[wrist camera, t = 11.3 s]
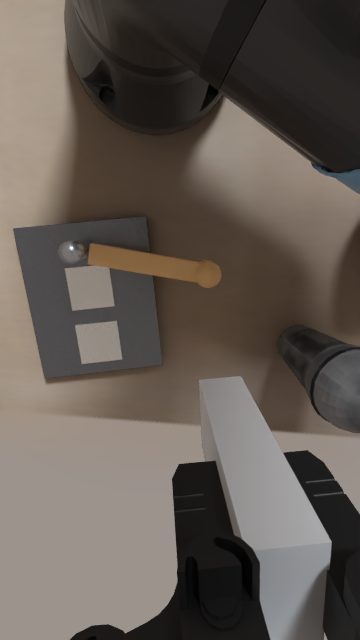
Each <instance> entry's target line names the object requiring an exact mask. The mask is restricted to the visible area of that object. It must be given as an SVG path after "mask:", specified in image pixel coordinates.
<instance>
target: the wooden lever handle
mask: <svg viewBox="0 0 360 640" xmlns="http://www.w3.org/2000/svg"><path fill="white" fill-rule="evenodd" d="M88 264H89V265H95V266H101V267H107V268H113V269H119V270H125V271H131V272H137V273H142V274H148V275H154V276H160V277H166V278H172V279H178V280H184V281H190V282H196V283H198V284H199V285H200V286H202V287H204V288H212V287H214V286H216V285H217V284H218V283H219V282H220V280H221V276H222V273H221V269H220V267H219V266H218V265H217V264H216V263H214V262H212V261H210V260H201V261H199V262H198V261H192V260H187V259H181V258H175V257H170V256H164V255H158V254H153V253H147V252H141V251H136V250H130V249H124V248H119V247H113V246H108V245H102V244H96V243H90V248H89V257H88Z"/></svg>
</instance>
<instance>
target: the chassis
mask: <svg viewBox="0 0 360 640" xmlns="http://www.w3.org/2000/svg"><path fill="white" fill-rule="evenodd" d="M13 231H14V235H15V240H16V245H17V249H18V254H19V259H20V263H21V268H22V273H23V278H24V282H25V287H26V292H27V296H28V301H29V306H30V311H31V315H32V320H33V325H34V329H35V334H36V339H37V344H38V348H39V353H40V358H41V362H42V367H43V372H44V376H45V378H54V377H62V376H71V375H80V374H88V373H97V372H105V371H114V370H123V369H131V368H140V367H148V366H157V365H163V363H162V354H161V345H160V336H159V327H158V318H157V309H156V300H155V291H154V282H153V275H148V274H142V273H137V272H131V271H125V270H119V269H113V268H107V267H101V266H95V265H89V264H88V257H89V248H90V243H96V244H102V245H108V246H113V247H119V248H124V249H130V250H136V251H141V252H147V253H150V247H149V238H148V229H147V220H146V216H143V217H133V218H122V219H111V220H100V221H89V222H79V223H68V224H57V225H46V226H35V227H24V228H14V229H13Z"/></svg>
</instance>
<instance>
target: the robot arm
mask: <svg viewBox="0 0 360 640" xmlns="http://www.w3.org/2000/svg"><path fill="white" fill-rule="evenodd" d="M64 22H65V33H66V40H67V46H68V50H69V54H70V57H71V60H72V63H73V65H74V68H75V70H76V72H77V74H78V77H79V79H80V81H81V83H82V85H83V87H84V88H85V90H86V92H87V93H88V95H89V96H90V98H91V99H92V100H93V102H94V103H95V104H96V105H97V106H98V107H99V109H100V110H101V111H102V112H104V113H105V114H106V115H107V116H108V117H109V118H111V119H112V120H114V121H115V122H117V123H118V124H120V125H122V126H124V127H126V128H128V129H130V130H133V131H136V132H140V133H144V134H152V135H163V134H170V133H175V132H178V131H181V130H184V129H186V128H188V127H190V126H192V125H194V124H195V123H197V122H198V121H200V120H201V119H202V118H203V117H205V116H206V115H207V114H208V113H209V112H210V111H211V110H212V109H213V107H214V106H215V105H216V104H217V102H218V101H219V99H220V98H221V96H222V95H223V96H225V97H226V98H227V99H229V100H230V101H231V102H233V103H234V104H235V105H237V106H238V107H239V108H241V109H242V110H243V111H245V112H246V113H247V114H248V115H250V116H251V117H252V118H254V119H255V120H256V121H258V122H259V123H260V124H262V125H263V126H264V127H266V128H267V129H268V130H269V131H271V132H272V133H273V134H275V135H276V136H277V137H279V138H280V139H281V140H283V141H284V142H285V143H287V144H288V145H289V146H291V147H292V148H293V149H294V150H296V151H297V152H298V153H300V154H301V155H302V156H304V157H305V158H306V159H308V160H309V161H310V162H311V163H312V166H313V168H315V169H316V170H317V171H319V172H320V173H322V174H324V175H327V176H331V177H334V178H336V179H337V180H339V181H340V182H342V183H343V184H345V185H346V186H348V187H349V188H351V189H352V190H354V191H355V192H357V193H358V194H360V0H66V1H65V11H64ZM199 394H200V414H201V435H202V448H203V453H204V458H205V462H196V463H186V464H179V466H178V467H177V469H176V472H175V474H174V476H173V478H172V484H173V500H174V515H175V531H176V546H177V562H178V569H177V577H178V583H177V586H176V589H175V592H174V595H173V597H172V598H171V600H170V602H169V604H168V605H167V606H166V607H165V608H164V609H163V610H162V612H161V613H160V614H159V615H158V616H156V617H154V618H153V619H151V620H150V621H148V622H147V623H145V624H143V625H141V626H139V627H137V628H135V629H133V630H131V631H130V632H127V633H126V634H125V633H124V632H123V630H120V629H118V628H116V627H113V626H111V625H95V626H91V627H89V628H87V629H85V630H83V631H81V632H79V633H77V634H75V635H74V636H73V637H72V638H71V639H70V640H324V632H325V634H326V637H327V639H328V640H360V514H359V513H358V511H357V510H356V508H355V507H354V505H353V504H352V503H351V501H350V500H349V498H348V497H347V495H346V494H344V493H343V490H342V488H341V487H340V485H339V484H338V482H337V481H335V479H334V477H333V475H332V474H331V472H330V471H329V469H328V468H327V467H326V465H325V464H324V462H322V461H321V460H320V459H318V458H317V457H316V456H314V455H313V454H312V453H310V452H309V451H296V452H286V453H283V452H282V450H281V449H280V447H279V445H278V443H277V441H276V440H275V438H274V436H273V434H272V432H271V430H270V428H269V427H268V425H267V423H266V421H265V419H264V417H263V416H262V414H261V412H260V410H259V408H258V407H257V405H256V403H255V401H254V399H253V397H252V396H251V394H250V392H249V390H248V388H247V386H246V385H245V383H244V381H243V379H242V377H241V376H235V377H224V378H212V379H200V380H199Z"/></svg>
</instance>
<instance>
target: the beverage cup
mask: <svg viewBox="0 0 360 640" xmlns="http://www.w3.org/2000/svg"><path fill="white" fill-rule="evenodd" d="M278 348H279V352H280V354H281V355H282V357H283V359H284V360H285V362H286V363H287V365H288V366H289V368H290V369H291V370H292V372H293V373H294V374H295V376H296V377H297V379H298V380H299V381H300V383H301V384H302V385H303V387H304V388H305V390H306V392H307V394H308V396H309V398H310V400H311V403H312V405H313V407H314V409H315V410H316V412H317V414H319V415H320V416H321V417H322V418H324V419H325V420H326V421H328V422H330V423H332V424H333V425H334V426H336V427H338V428H341V429H344V430H347V431H350V432H353V433H360V347H359V346H355V345H351V344H347V343H344V342H342V341H340V340H337V339H335V338H332V337H330V336H328V335H325V334H323V333H321V332H318V331H316V330H313V329H311V328H307V327H305V326H293V327H290V328H289V329H287V330H285V332H284V333H283V334H282V335H281V337H280V339H279V343H278Z"/></svg>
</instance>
